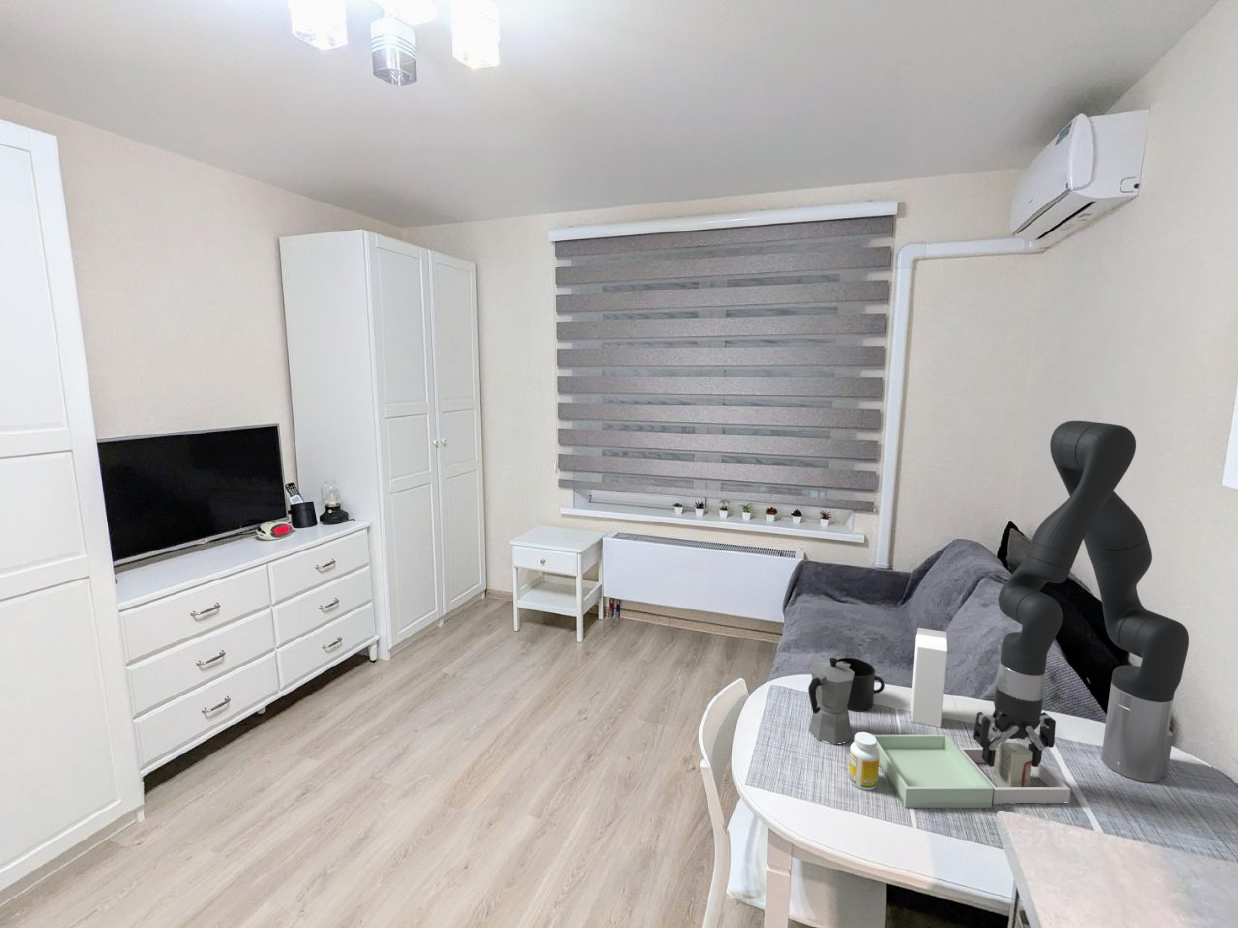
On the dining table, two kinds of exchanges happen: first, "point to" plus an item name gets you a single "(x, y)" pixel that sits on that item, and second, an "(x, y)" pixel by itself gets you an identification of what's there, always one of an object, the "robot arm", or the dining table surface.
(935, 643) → the milk
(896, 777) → the bin
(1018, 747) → the small box
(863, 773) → the supplement bottle
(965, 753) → the frame
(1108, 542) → the robot arm
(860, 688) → the mug
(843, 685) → the coffeepot
